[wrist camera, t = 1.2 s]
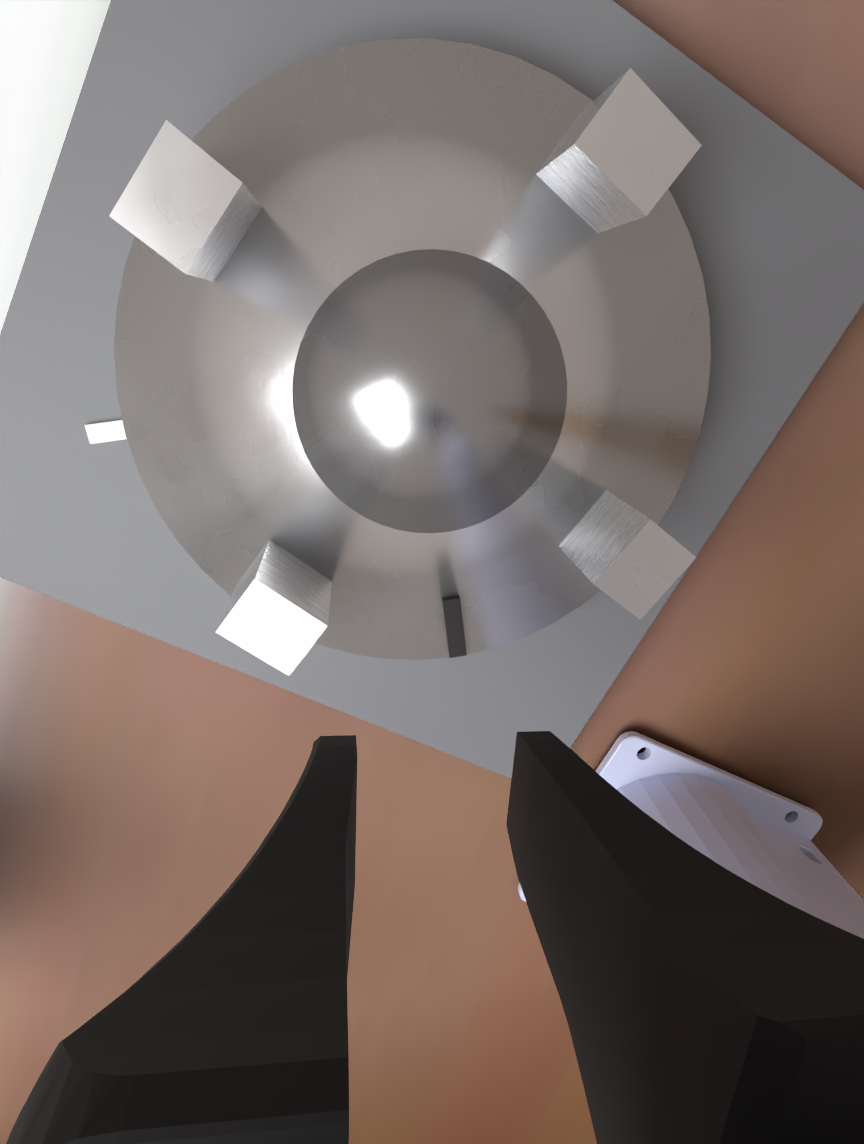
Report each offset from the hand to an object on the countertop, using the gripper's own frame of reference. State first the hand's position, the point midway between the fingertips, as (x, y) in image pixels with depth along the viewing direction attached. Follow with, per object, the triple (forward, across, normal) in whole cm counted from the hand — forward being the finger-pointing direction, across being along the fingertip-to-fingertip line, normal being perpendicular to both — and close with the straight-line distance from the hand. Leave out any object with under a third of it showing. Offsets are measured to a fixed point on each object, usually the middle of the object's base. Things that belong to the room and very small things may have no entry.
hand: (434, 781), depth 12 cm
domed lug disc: (+9, 0, -6) cm, 11 cm away
